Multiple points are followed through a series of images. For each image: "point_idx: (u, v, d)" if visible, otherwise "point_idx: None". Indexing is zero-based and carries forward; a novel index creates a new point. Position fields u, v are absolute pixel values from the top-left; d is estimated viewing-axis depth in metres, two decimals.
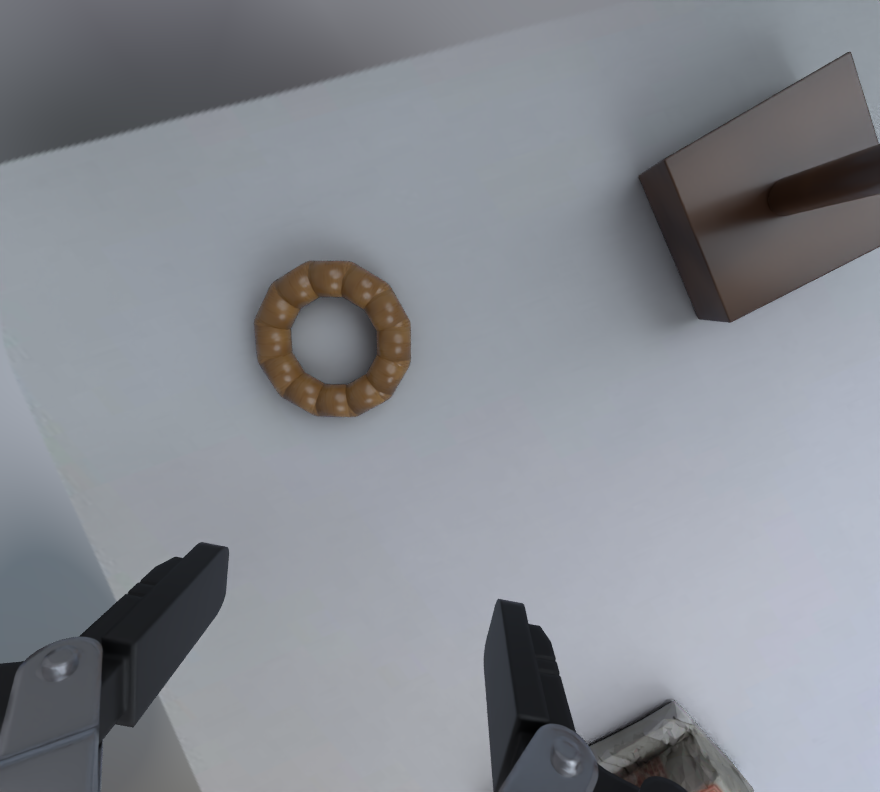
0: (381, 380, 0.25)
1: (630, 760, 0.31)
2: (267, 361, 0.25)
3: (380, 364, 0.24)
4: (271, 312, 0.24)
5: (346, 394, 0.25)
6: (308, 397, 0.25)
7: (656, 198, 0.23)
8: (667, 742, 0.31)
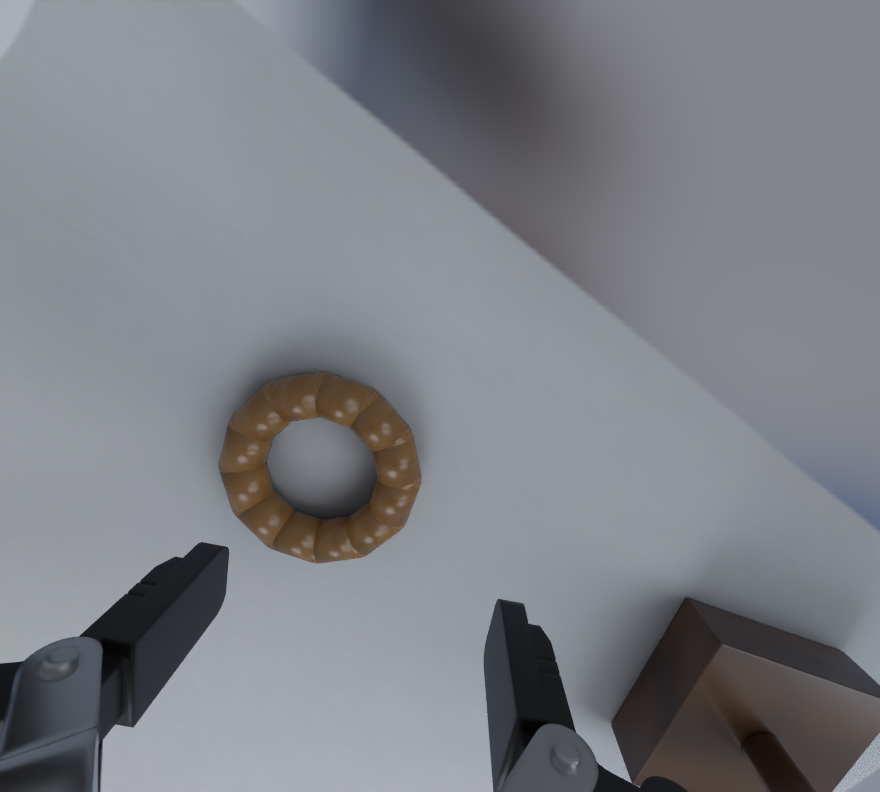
0: (327, 552, 0.20)
1: None
2: (238, 434, 0.18)
3: (340, 538, 0.20)
4: (291, 402, 0.18)
5: (282, 529, 0.20)
6: (243, 498, 0.19)
7: (681, 634, 0.21)
8: None
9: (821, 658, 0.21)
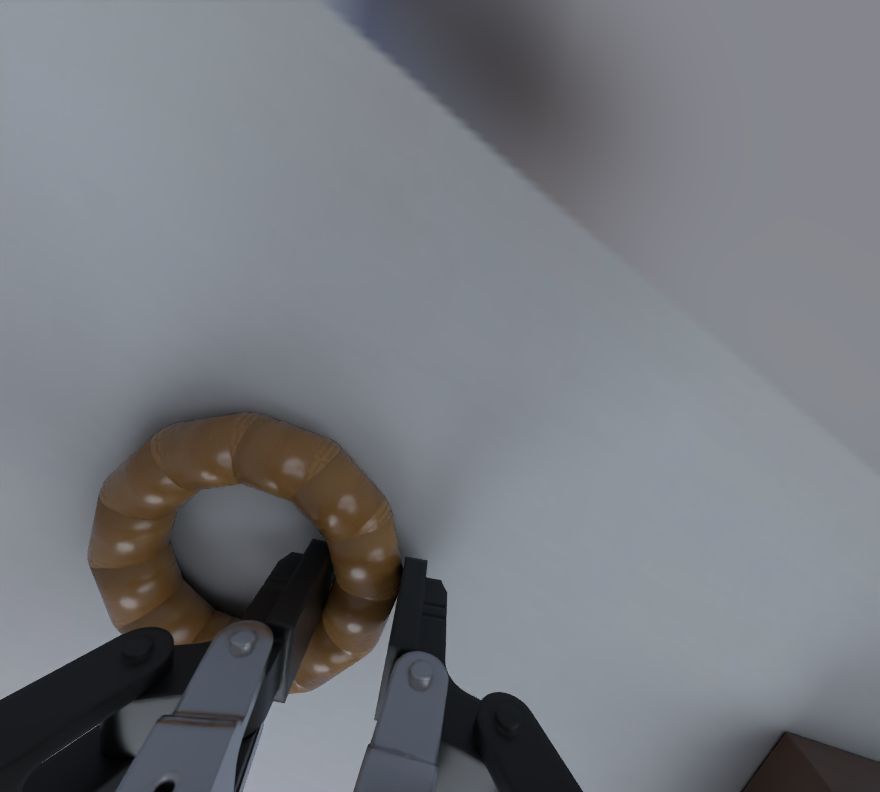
0: None
1: None
2: (111, 512, 0.12)
3: None
4: (193, 465, 0.11)
5: None
6: (124, 607, 0.12)
7: (782, 791, 0.14)
8: None
9: None
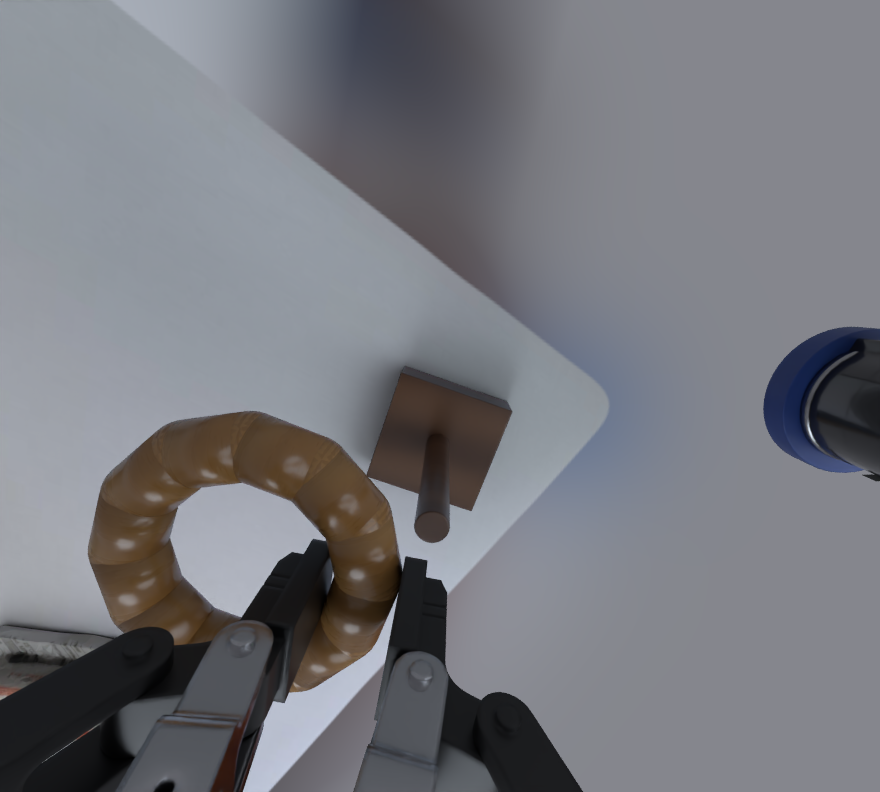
0: None
1: None
2: (112, 508, 0.12)
3: None
4: (194, 463, 0.11)
5: None
6: (124, 603, 0.12)
7: None
8: None
9: (479, 395, 0.34)
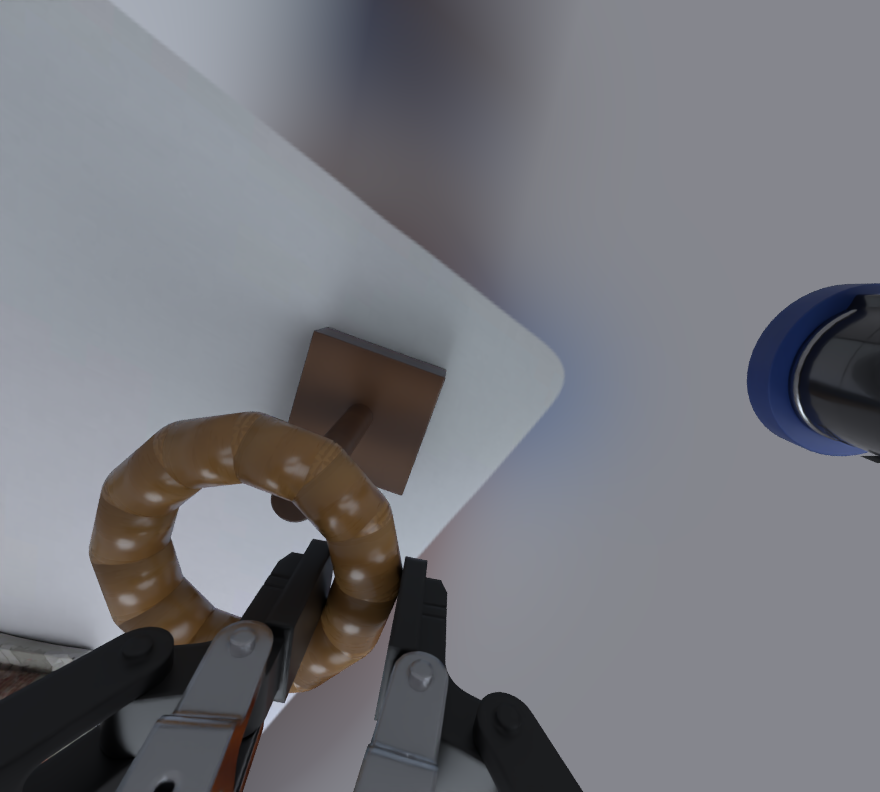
0: None
1: (20, 663, 0.36)
2: (113, 508, 0.12)
3: None
4: (195, 463, 0.11)
5: None
6: (125, 603, 0.12)
7: None
8: (54, 670, 0.36)
9: (410, 360, 0.29)
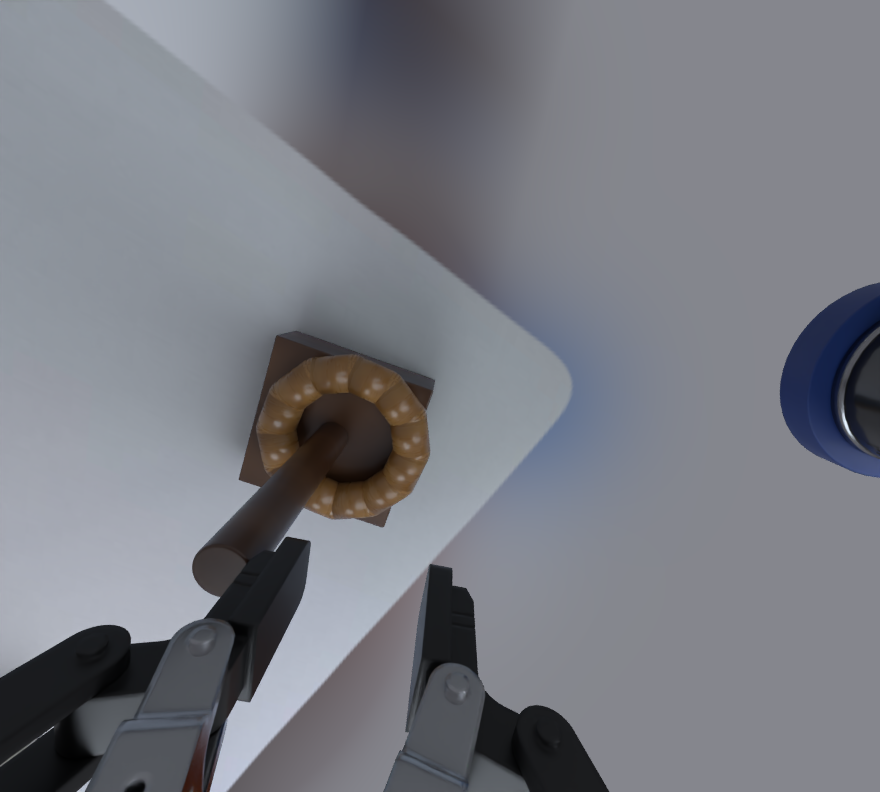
0: (344, 509, 0.23)
1: None
2: (278, 401, 0.22)
3: (356, 498, 0.23)
4: (327, 378, 0.21)
5: None
6: (276, 457, 0.22)
7: None
8: None
9: (392, 369, 0.25)
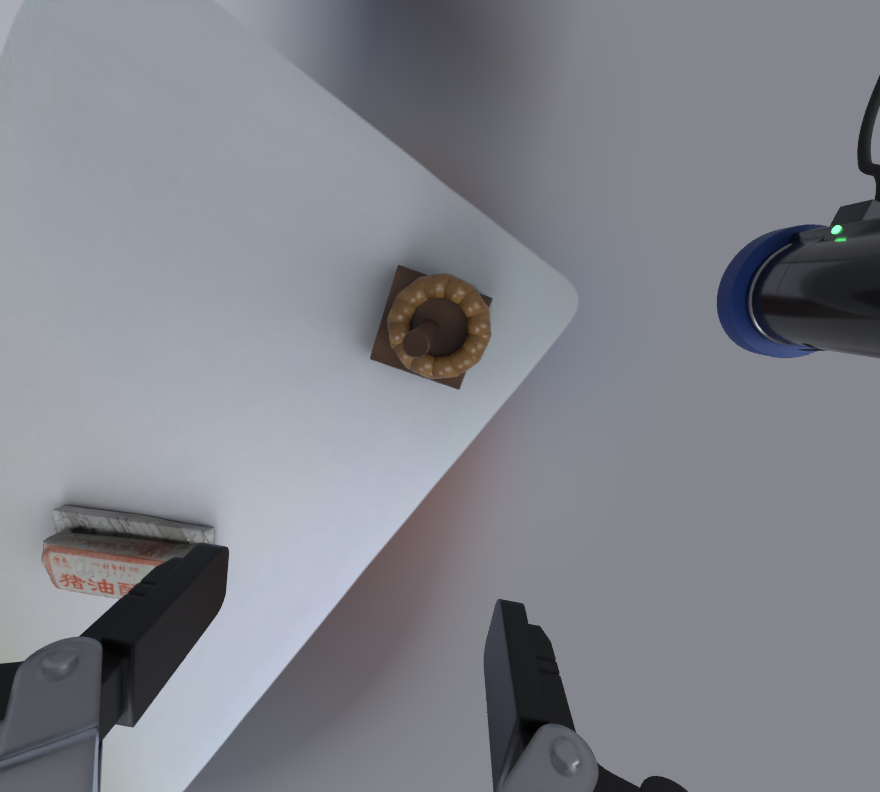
0: (439, 369, 0.38)
1: (162, 535, 0.47)
2: (403, 301, 0.37)
3: (447, 363, 0.38)
4: (432, 286, 0.36)
5: None
6: (400, 337, 0.37)
7: None
8: (188, 540, 0.47)
9: None
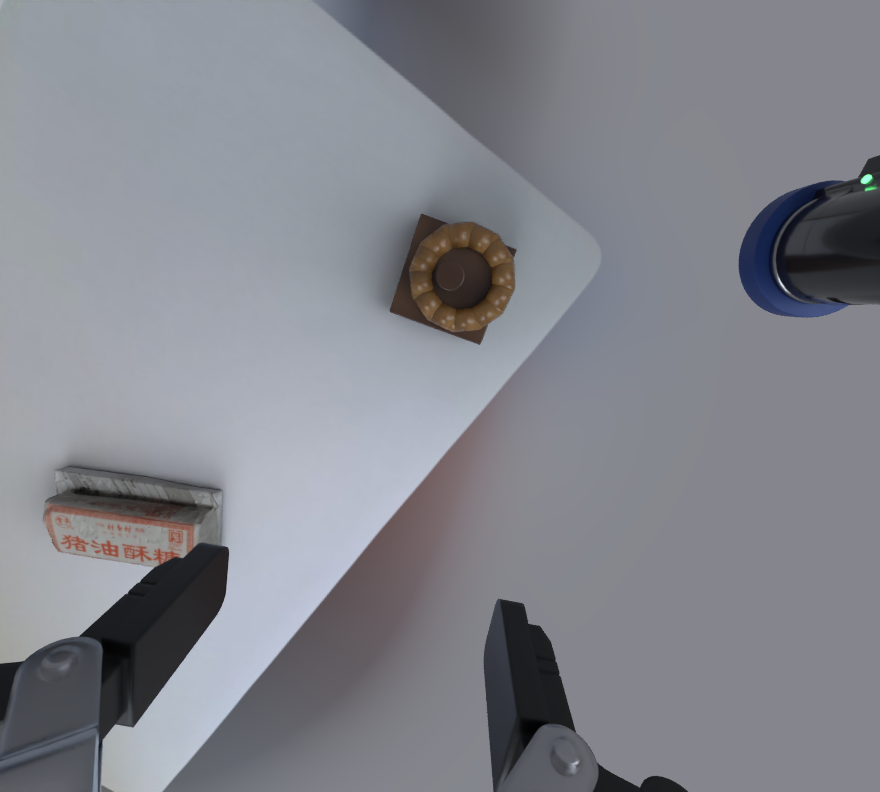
0: (462, 321, 0.37)
1: (168, 497, 0.46)
2: (427, 249, 0.36)
3: (470, 314, 0.37)
4: (457, 233, 0.35)
5: (439, 307, 0.37)
6: (422, 286, 0.37)
7: None
8: (196, 503, 0.46)
9: None
